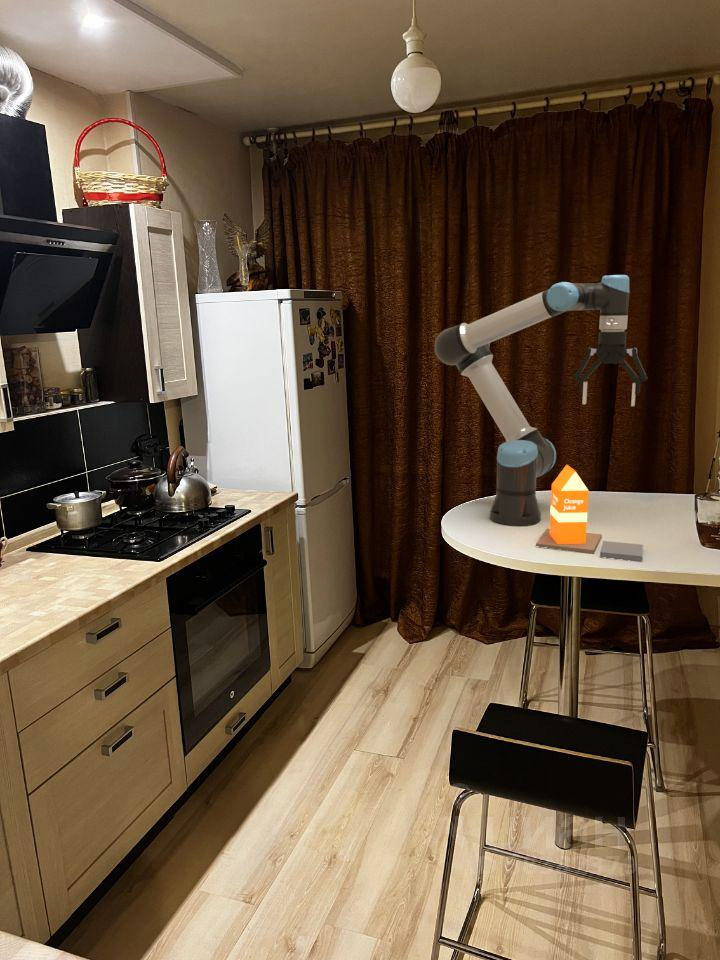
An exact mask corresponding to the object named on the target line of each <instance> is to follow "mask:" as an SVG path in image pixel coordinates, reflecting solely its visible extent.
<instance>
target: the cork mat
mask: <svg viewBox="0 0 720 960" xmlns="http://www.w3.org/2000/svg"><path fill="white" fill-rule="evenodd" d="M602 536H603V534H601V533H594V532H593V533H592V532H586V543H574V544H557V542H556V541H555V540H554V539H553V538H552V536H551V535H550V528H546V529H545V531H544V532H543V533H542V535H541V536H540V537H539V539H538V540H537V541H536V542H535V547H536V546H539V547H538V548H541V547H547V548H546V549H549V548H554V549H553V550H557V549H561V550H560V551H566V550H568V551H567V552H574V551H575V552H574V553H582V552H583V553H584V554H591V553H592V554H593V555H594V554H595V552H596V550H597V548H598V545H599V544H600V542H601V540H600V539H602ZM583 553H582V554H583Z"/></svg>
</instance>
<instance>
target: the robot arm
mask: <svg viewBox="0 0 720 960" xmlns="http://www.w3.org/2000/svg"><path fill="white" fill-rule="evenodd" d="M629 299H630V277H629V276H628V275H626V274H612V275H611V274H610V275H603V276H602V278H601V281H600V282H596V283H593V282H592V283H578V282H574V283H573V282H567V281H561V282H558V283H555V284H553V285H551V287H549V289H546V290H545V291H542V292H538V293H537V294H534V295H531V296H530V297H528V298H526V299H522V300H521V301H518V302H516V303H514V304H512V305H509V306H507V307H504V308H503V309H500V310H498V311H496V312H494V313H492V314H489V315H487V316H484V317H481V318H480V319H477V320H474V321H473V322H470V323H469V324H468V323H466V322H462V323H460V324H457V325H455V326H453V327H449V328H446V329H444V330H443V331H441V332H440V333H438V335H437V337H436V339H435V341H434V353H435V355H436V357H437V359H438V360H439V361H441V362H442V363H443V364H444V365H447V366H448V365H449V366H456V368H457V369H458V372H459V373H460V375H461V376H464V377H467V378H469V380H470V382H471V384H472V385H473V387H474V388H475V390H476V393H477V394H478V396H479V397H480V399H481V400H482V402H483V404H484V406H485V407H486V409H487V410H488V412H489V414H490V415H491V417H492V419H493V420H494V422H495V424H496V426H497V427H498V429H499V430H500V432H501V434H502V435H503V437H504V439H505V442H503V443H501V444H500V445H499V446H498V448H497V453H496V454H497V455H496V494H495V497H494V500H493V502H492V505H491V508H490V511H489V519H490V520H491V521H492V522H495V523H497V524H500V525H507V526H531V525H535V524H538V523H540V522H541V520H542V519H541V518H542V512H541V509H540V505H539V503H538V502H539V501H538V499H537V496H536V492H537V478H539V477H541V476H544V475H546V474H547V473H548V472H549V471H551V470H552V468H553V467H554V465H555V464H556V460H557V451H556V447H555V445H554V444H553V443H552V442H551V441H550V440H549V439H547V438H544V437H543V436H542V435H541V433H540V431H539V430H538V428H537V427H532V426H530V424H529V422H528V420H527V418H526V417H525V416H524V414H523V412H522V411H521V409H520V408H519V405H518V404H517V403H516V400H515V399H514V398H513V396H512V395H511V393H510V391H509V389H508V387H507V386H506V384H505V382H504V381H503V379H502V377H501V376H500V374H499V373H498V371H497V369H496V368H495V366H494V364H493V358H494V355H493V353H492V352H491V349H490V347H491V346H490V345H491V343H492V342H496V341H498V340H501V339H502V338H505V337H507V336H510V335H511V334H514V333H516V332H519V331H522V330H524V329H526V328H528V327H529V328H530V327H531V326H533V325H536V324H538V323H541V322H543V321H546V320H547V319H550V318H553V317H556V316H558V315H561V314H563V313H565V312H569V311H571V312H573V311H593V310H594V311H599V310H600V311H599V326H598V329H599V330H600V332H599V333H598V341H597V342H598V345H597V348H592V347H588V348H586V351H585V356H584V358H583V360H582V362H581V363H580V365H579V366H578V368H577V370H576V372H575V374H574V376H573V379H574V381H575V380H576V381H578V382H579V387H578V388H579V390H578V391H579V393H580V394H581V393H582V405H586V404H587V397H588V381H586V380H587V378H589V376H591V374H593V372H594V371H595V370H596V369H597V368H598V367H599V366H600V365H601V364H602V363H603V364H605V365H610V364H613V365H617V364H620V365H621V366H622V367H623V369H624V370H625V371H626V373H628V375H629V376H630V377H631V378H632V380H633V381H634V382H632V386H631V387H632V389H631V402H630V406H631V407H635V405H636V395H639V394H640V392H641V383H643V382H646V381H647V380H648V376H647V373H646V372H645V369H644V368H643V364H642V362H641V359H639V356H638V348H637V347H634V348H627V331H625V330H627V329H628V319H629V318H628V316H629V315H628V314H629V311H628V310H629V301H630V300H629ZM595 354H596V356H597V357H598V359H597V360H596V361H595V362H594V363H593V364H592V366H591V367H589V369H588V370H586V371H585V373H584V374H583V375H582V372H583V371H584V369H585V367H586V366H587V364H588V362H589V360H590V358H591V357H592V356H594V355H595ZM627 354H628V355H629V356H630V357H632V360H633V363H634V364H635V367H636V369H637V371H638V373H639V375H640V377H639V376H638V375H637V373H636V372H635V371H634V369H633V368H632V367H631V366H630V364H629V363H628V362H627V361H626V359H625V358H624V357H626V355H627ZM581 375H582V376H581Z"/></svg>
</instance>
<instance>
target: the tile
mask: <svg viewBox="0 0 720 960" xmlns="http://www.w3.org/2000/svg"><path fill="white" fill-rule="evenodd" d="M643 551H644V545H643V544H640V543H639V544H638V543H628V542H620V541H619V542H618V541H609V540H602V545H601V548H600V551H599V552H600V555H599V558H600V557H606V558H605V559H608V558H614V559H613V560H618V559H623V560H622V561H628V560H630V561H629V562H639V563H642V562H643Z"/></svg>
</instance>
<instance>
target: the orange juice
mask: <svg viewBox="0 0 720 960" xmlns="http://www.w3.org/2000/svg"><path fill="white" fill-rule="evenodd" d="M550 492H551V493H550V494H551V495H550V508H549V509H550V513H549V514H550V518H549V529H550V535H551V536H552V538H553V539H554V540H555V541H556V542H557V544H574V543H586V533H587V527H588V526H587V525H588V524H587V523H588V507H589V505H588V504H589V489H588V487H587V486H586V485H585V483H584V482H583V480H582V478H581V477H580V476H579V474H578V473H577V471H576V470H575V469H574V468H572V467H571V466H569V464H566V465H565V466H564V467H563V469H562V470H561V471H560V473H559V474H558V476H557V477H556V478H555V480H554V481H553V482H552V483H551V491H550Z"/></svg>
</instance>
